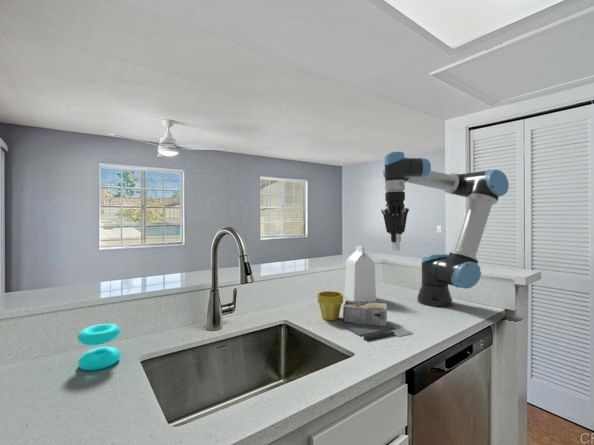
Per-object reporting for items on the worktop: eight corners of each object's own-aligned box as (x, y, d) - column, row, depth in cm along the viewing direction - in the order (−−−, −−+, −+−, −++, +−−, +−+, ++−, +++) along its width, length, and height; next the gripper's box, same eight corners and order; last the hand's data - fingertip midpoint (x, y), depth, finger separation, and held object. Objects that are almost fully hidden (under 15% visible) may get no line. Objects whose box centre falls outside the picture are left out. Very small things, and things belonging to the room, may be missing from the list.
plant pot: (315, 314, 133) (315, 291, 132) (339, 313, 134) (339, 290, 133) (319, 322, 122) (319, 297, 122) (345, 321, 123) (345, 296, 123)
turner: (402, 328, 116) (402, 326, 116) (413, 333, 111) (413, 330, 111) (360, 337, 108) (360, 334, 108) (369, 342, 103) (369, 339, 103)
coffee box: (386, 319, 125) (346, 315, 130) (387, 303, 125) (346, 299, 129) (386, 327, 116) (342, 322, 121) (386, 309, 116) (342, 305, 121)
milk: (344, 296, 162) (344, 245, 161) (365, 294, 165) (365, 245, 164) (354, 302, 150) (354, 248, 150) (376, 300, 153) (376, 247, 153)
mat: (370, 317, 128) (370, 316, 128) (395, 329, 116) (395, 327, 116) (337, 323, 121) (337, 322, 121) (359, 336, 109) (359, 334, 109)
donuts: (84, 338, 81) (72, 329, 87) (85, 376, 81) (72, 364, 88) (125, 327, 89) (111, 319, 95) (126, 362, 89) (111, 352, 95)
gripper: (389, 190, 120) (390, 252, 121) (414, 190, 126) (415, 249, 127) (375, 192, 127) (377, 250, 128) (399, 192, 133) (401, 248, 134)
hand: (396, 250), depth 127 cm, fingers closed
